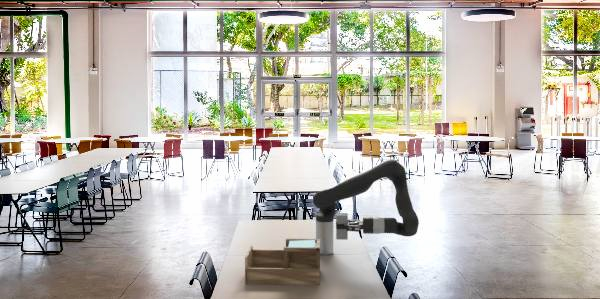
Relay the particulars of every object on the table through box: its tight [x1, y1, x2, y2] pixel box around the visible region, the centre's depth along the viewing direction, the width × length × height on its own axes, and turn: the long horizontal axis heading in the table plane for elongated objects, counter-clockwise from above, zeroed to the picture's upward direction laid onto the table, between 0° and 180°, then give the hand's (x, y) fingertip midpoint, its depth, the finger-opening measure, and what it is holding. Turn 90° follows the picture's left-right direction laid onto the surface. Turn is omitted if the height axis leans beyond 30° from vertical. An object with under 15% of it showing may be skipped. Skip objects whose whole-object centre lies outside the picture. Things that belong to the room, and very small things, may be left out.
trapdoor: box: [288, 240, 316, 247], centre depth 275 cm, size 12×12×1 cm
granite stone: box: [335, 212, 349, 241], centre depth 273 cm, size 5×5×11 cm
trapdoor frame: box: [244, 238, 321, 286], centre depth 276 cm, size 20×33×16 cm, turn 87°
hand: (336, 224), depth 273 cm, fingers closed on granite stone, 5 cm apart
